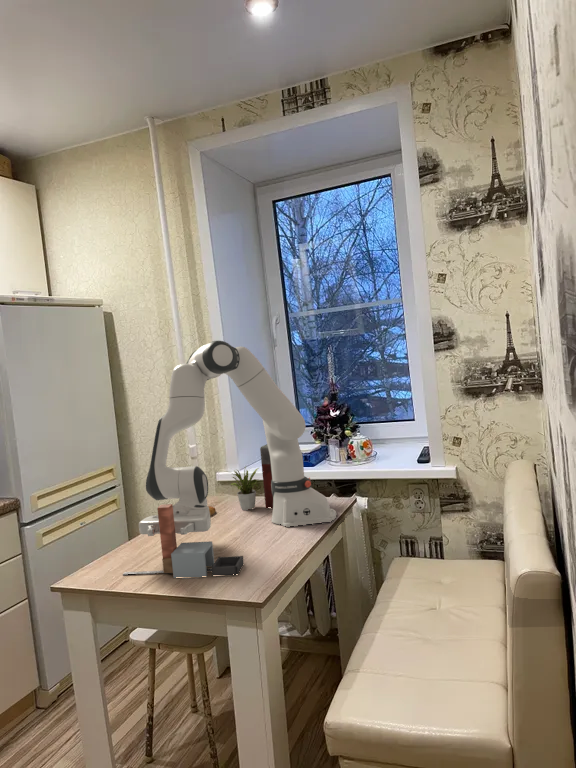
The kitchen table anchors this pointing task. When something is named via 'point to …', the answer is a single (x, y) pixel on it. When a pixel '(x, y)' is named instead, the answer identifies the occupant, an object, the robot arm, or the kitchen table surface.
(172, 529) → the upright post on base
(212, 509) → the pastry
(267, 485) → the toy vending machine
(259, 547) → the kitchen table surface
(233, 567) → the dark grey tray
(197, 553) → the tunnel
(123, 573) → the rail
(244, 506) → the house plant
